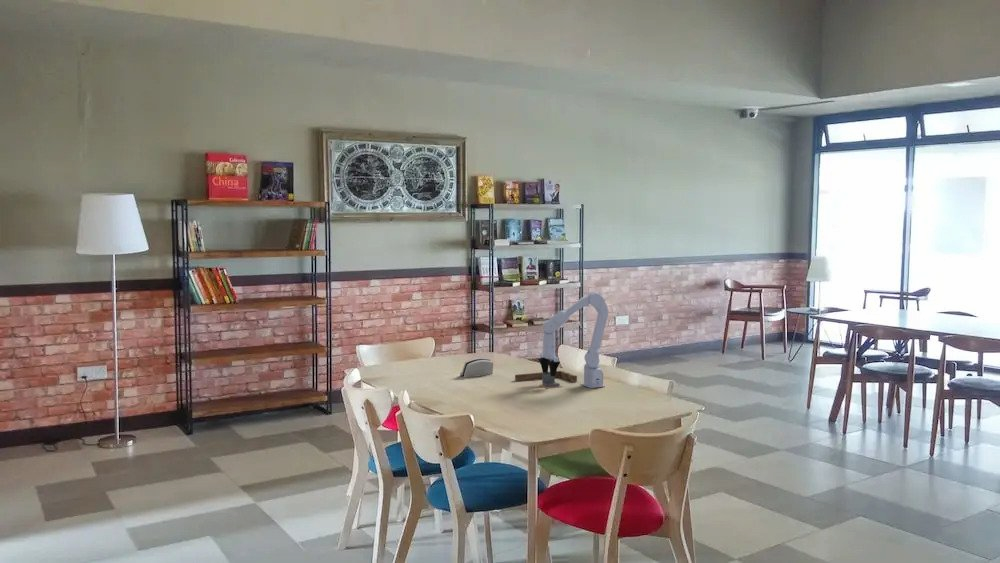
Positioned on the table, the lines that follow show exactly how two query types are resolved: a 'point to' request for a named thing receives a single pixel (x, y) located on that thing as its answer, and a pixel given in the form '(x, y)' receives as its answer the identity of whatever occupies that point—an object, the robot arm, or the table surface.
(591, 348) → the robot arm
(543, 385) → the pad
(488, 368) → the grey curved-top block
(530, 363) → the table surface
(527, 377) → the brown wooden l-shape
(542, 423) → the table surface
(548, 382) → the bracket
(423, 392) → the table surface
